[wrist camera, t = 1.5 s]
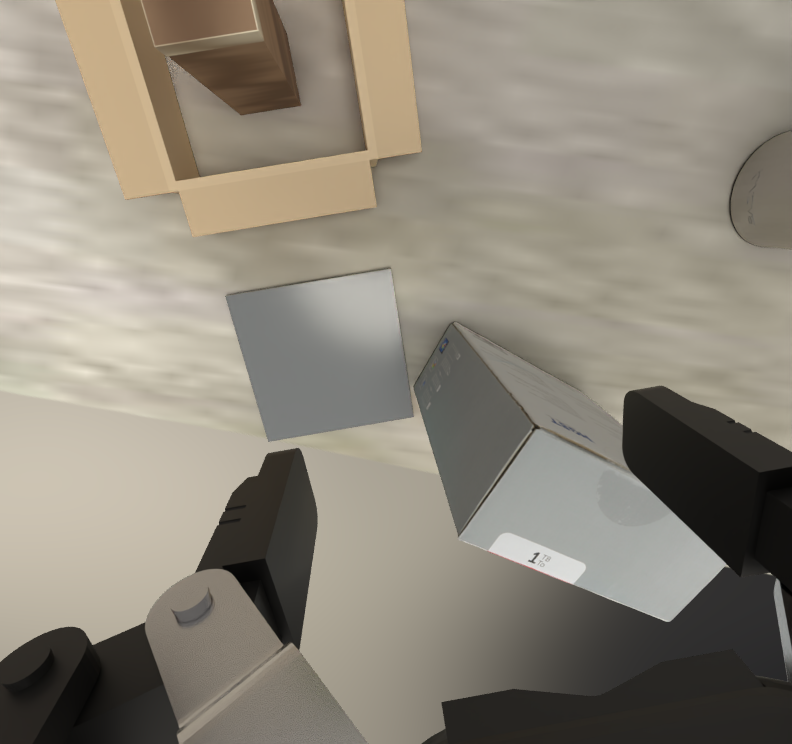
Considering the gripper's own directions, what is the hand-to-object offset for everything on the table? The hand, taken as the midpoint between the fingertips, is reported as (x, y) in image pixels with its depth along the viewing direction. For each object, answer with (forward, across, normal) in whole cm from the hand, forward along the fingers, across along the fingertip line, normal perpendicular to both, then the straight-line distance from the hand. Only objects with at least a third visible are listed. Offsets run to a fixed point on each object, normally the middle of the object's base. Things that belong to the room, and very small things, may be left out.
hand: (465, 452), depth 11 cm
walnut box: (+28, +7, -16) cm, 33 cm away
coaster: (+28, +7, +6) cm, 30 cm away
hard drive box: (+28, -9, +12) cm, 32 cm away
